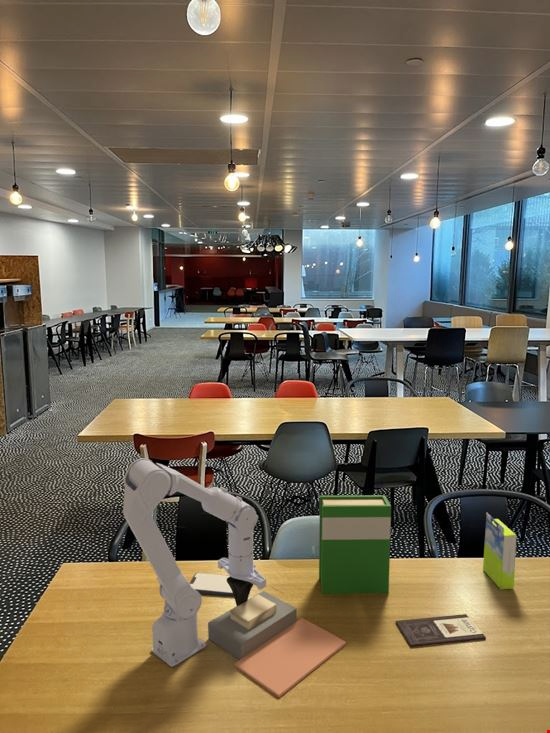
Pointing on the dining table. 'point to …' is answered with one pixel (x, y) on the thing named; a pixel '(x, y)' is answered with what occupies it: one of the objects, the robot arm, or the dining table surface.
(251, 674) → the mat
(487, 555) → the box
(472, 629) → the chocolate bar
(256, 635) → the block
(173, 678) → the dining table surface
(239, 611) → the tile
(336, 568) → the hardback book
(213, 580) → the phone case
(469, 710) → the dining table surface
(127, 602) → the dining table surface
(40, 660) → the dining table surface
